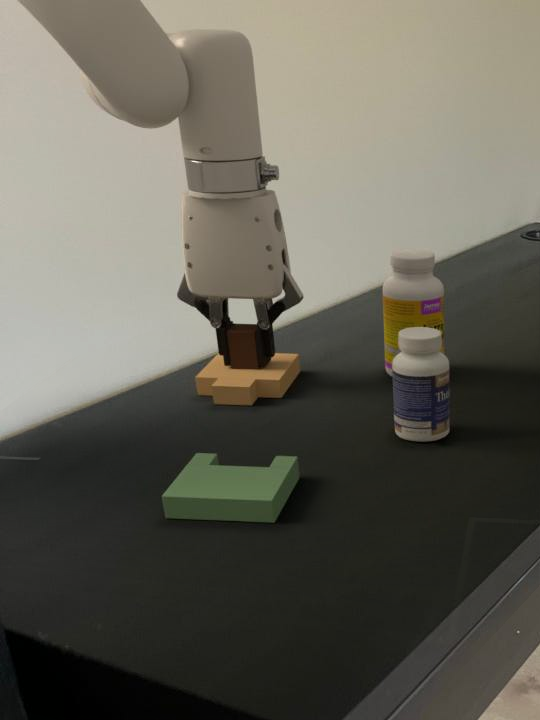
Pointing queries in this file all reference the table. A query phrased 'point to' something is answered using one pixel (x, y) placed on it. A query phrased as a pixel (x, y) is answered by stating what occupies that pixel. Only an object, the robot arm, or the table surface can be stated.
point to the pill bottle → (421, 386)
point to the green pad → (231, 490)
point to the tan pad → (246, 371)
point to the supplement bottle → (411, 299)
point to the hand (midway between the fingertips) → (248, 361)
